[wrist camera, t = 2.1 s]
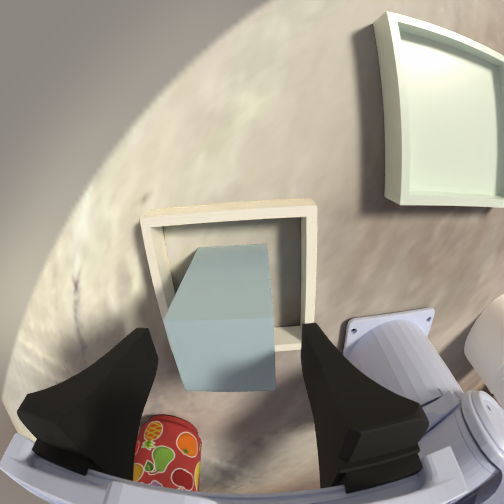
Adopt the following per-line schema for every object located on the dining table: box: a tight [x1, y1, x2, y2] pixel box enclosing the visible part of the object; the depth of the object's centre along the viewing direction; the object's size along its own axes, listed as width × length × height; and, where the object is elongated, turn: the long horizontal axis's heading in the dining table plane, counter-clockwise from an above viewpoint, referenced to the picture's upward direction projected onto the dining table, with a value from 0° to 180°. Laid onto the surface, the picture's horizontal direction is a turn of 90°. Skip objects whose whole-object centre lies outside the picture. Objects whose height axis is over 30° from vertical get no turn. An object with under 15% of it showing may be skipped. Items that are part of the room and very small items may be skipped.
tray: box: [373, 11, 504, 208], centre depth 13 cm, size 12×12×2 cm
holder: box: [139, 198, 317, 353], centre depth 18 cm, size 10×10×2 cm
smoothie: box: [133, 415, 202, 492], centre depth 17 cm, size 8×8×20 cm
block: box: [163, 244, 276, 392], centre depth 15 cm, size 4×4×8 cm
